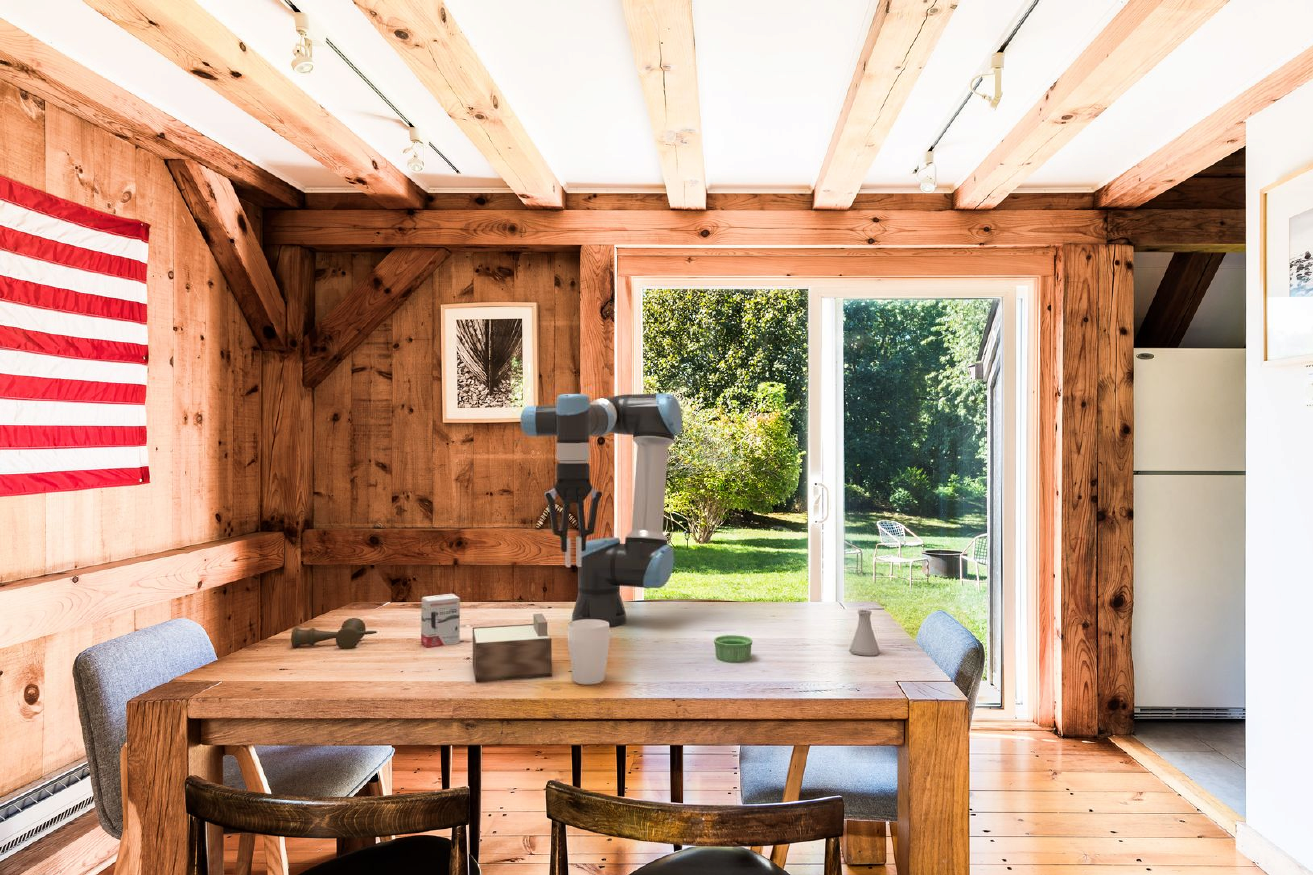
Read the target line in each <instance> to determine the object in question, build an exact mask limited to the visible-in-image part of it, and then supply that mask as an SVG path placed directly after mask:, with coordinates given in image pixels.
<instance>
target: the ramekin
mask: <svg viewBox="0 0 1313 875" xmlns="http://www.w3.org/2000/svg"><path fill="white" fill-rule="evenodd" d="M713 642H714V646H715V647H714V648H715V649H714V651H715V657H716V659H717V660H719V661H721V662H723V663H725V662H726V663H743V662H744V663H745V662H748V661H749V660H751V657H752V656H751V655H752V654H751V653H752V645H753V639H752V638H751V637H748V636H746V635H745V636H743V635H736V634H733V635H731V634H729V635H728V634H727V635H720V636H717V637H714V639H713Z"/></svg>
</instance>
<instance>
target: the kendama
mask: <svg viewBox="0 0 1313 875" xmlns="http://www.w3.org/2000/svg"><path fill="white" fill-rule="evenodd" d="M366 629H367V628H366V623H365V622H364V620H362V619H360V618H358V617H351V618H348V619H346V620H345V621H344V622H343V623H342V624H341V628H340V629H339V630H338V631H329V630H328V631H327V630H319V629H318V630H317V629H315V627H311V628H310V629H309V628H308V629H301V628H299V627H297V626H296V627H293V629H292V630H291V636H290V641H291V642H290V643H291V646H292V648H293V649H297V648H299V647H300V646H305V645H309V646H311V647H312V646H315V644H316V643H319V642H324V641H328V640H333V639H335V643H336V645H337V646H338V648H339V649H341V650H351V649H354V648H355V647H357V646H358V644H359V642H360V640H361V639H363V638H364V636H366V635H374V634H377V633H378V631H377V630H366Z"/></svg>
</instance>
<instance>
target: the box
mask: <svg viewBox="0 0 1313 875" xmlns="http://www.w3.org/2000/svg"><path fill="white" fill-rule="evenodd" d="M526 625H533V623H525V624H509V625H507V624H505V625H491V626H475V627H474V626H473V627H472V667H473V675H474V680H475V683H486V682H487V683H488V682H498V680H499V681H509V680H522V679H535V678H536V679H537V678H547V677H549V678H550V677H552V674H553V672H552V670H553V669H552V663H553V662H552V648H553V647H552V646H553V645H552V642H553V641H552V637H550V638H542V639H526V640H511V641H496V642H481V643H476V642H475V636H474V629H477V628H494V627H510V626H526Z"/></svg>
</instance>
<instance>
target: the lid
mask: <svg viewBox="0 0 1313 875" xmlns="http://www.w3.org/2000/svg"><path fill="white" fill-rule="evenodd" d="M532 617H533V623H532V624H533V625H526V626H510V627H494V628H477V629H474V636H475V642H476V643H481V642H496V641H511V640H526V639H542V638H551V637H550V635H549V634H548V633H549V632H548V621H547V619H546V616H544V614H543V613H533V616H532Z"/></svg>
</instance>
